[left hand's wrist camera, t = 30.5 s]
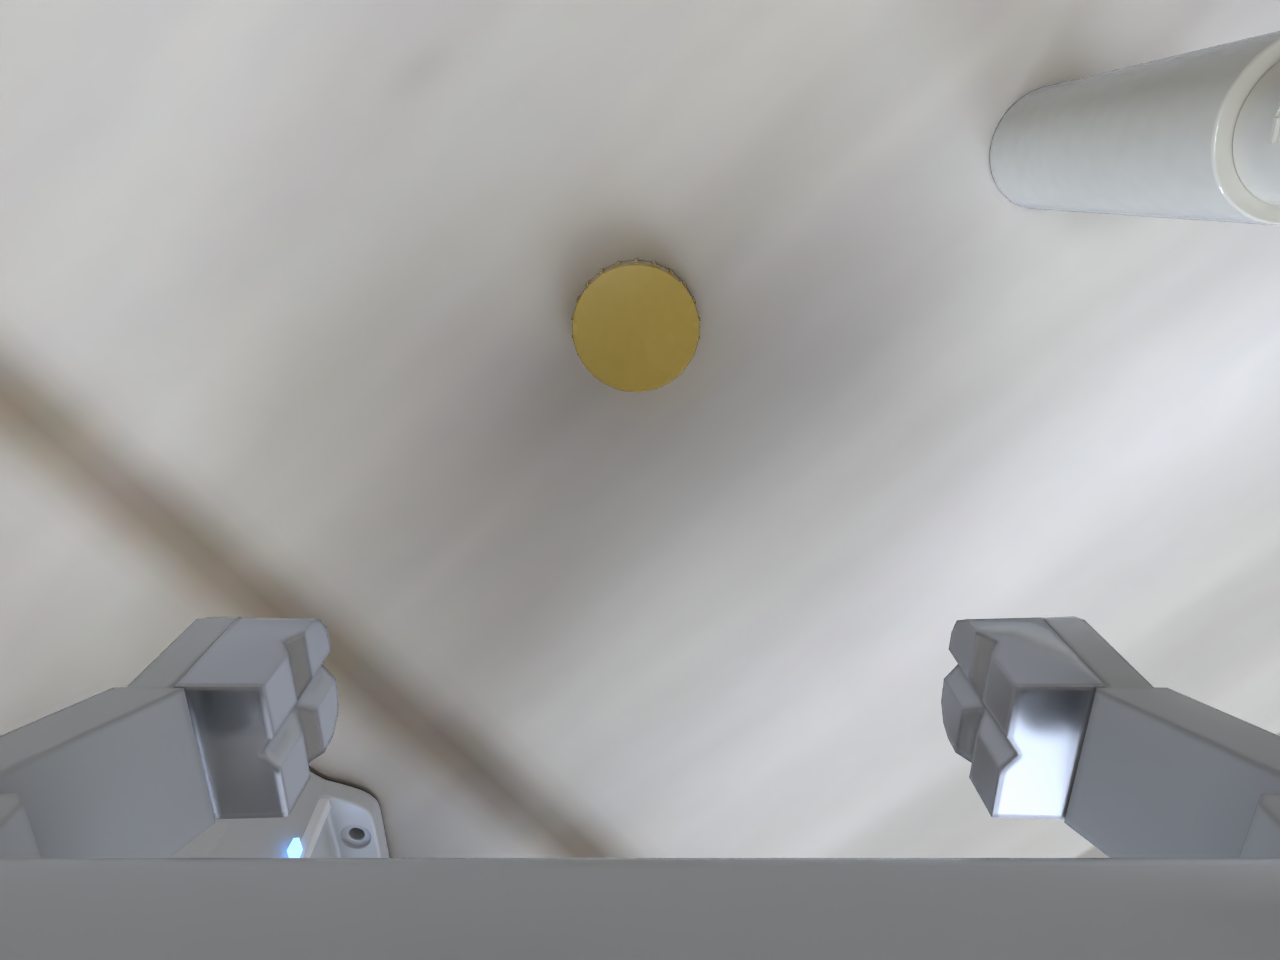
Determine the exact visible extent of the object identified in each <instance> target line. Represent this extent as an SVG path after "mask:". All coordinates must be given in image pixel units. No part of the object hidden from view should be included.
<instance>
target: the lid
mask: <svg viewBox="0 0 1280 960" xmlns="http://www.w3.org/2000/svg"><path fill="white" fill-rule="evenodd" d="M686 287H687V286H686V284H685V282H684V281H683V282H682V281H681V280H680V279H679V278H678V277H677V276H676V275H675V274H673V272H672V270H671V269H669V270H668V269H666V268H664V267H662V266H660V265H658V264H656V262H655V261H653V263H651V262H647V261H638V259H635V260H633V261H625V262H621V263H620V261H617V264H614V265H612V266H610V267H608V268H606V269H603V268H602V269H601V271H600V273H599V274H597V275H596V276H595V277H594V278H593V279H592V280H591V281H590V280H589V281H588V282H587V284H586V288H585V290H584V291H583V293H582V295H581V296H580V295H579V297H578V299H577V301H576V302H578V303H577V306H576V308H575V312H574V314H573V316H572V320H573V324H572V329H573V335H572V338H573V340H574V344H575V348H576V350H577V354H578V355H579V357H580V359H581V361H582V363H583V364H584V365H585V367H586V368H587V369H588V370H589V372H590V373H591V374H592V375H593V376H595V377H596V378H597V379H598V380H600V381H601V382H603V383H605V384H606V385H608V386H611V387H613V388H616V389H619V390H623V391H629V392H642V391H649V390H653V389H656V388H659V387H662V386H664V385H665V384H667V383H669V382H671V381H672V380H673V379H675V378H676V377H677V376H678V375H679V374H681V373H682V371H683V370H684V369H685V368H686V367H687V365H688V364H689V362H690V361H691V359H692V357H693V356H694V353H695V350H696V347H697V344H698V339H699V338H700V336H699V321H700V317H699V315H698V313H697V309H696V307H695V304H694V303H696V301H695V299H694V297H693V296H692V297H691V295H690V293H689V291H688V289H687V288H686Z"/></svg>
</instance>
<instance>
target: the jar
mask: <svg viewBox="0 0 1280 960" xmlns="http://www.w3.org/2000/svg"><path fill="white" fill-rule="evenodd" d="M990 165H991V171H992V175H993V178H994V181H995V183H996V185H997V186H998V188H999V190H1000V191H1001V192H1002V193H1003V195H1004V196H1005V197H1007V198H1008V199H1009V200H1010V201H1012V202H1013V203H1015V204H1017V205H1019V206H1021V207H1025V208H1029V209H1039V210H1054V211H1068V212H1083V213H1098V214H1113V215H1128V216H1143V217H1158V218H1172V219H1187V220H1202V221H1217V222H1232V223H1247V224H1262V225H1280V31H1277V32H1273V33H1268V34H1264V35H1260V36H1256V37H1252V38H1247V39H1243V40H1239V41H1235V42H1230V43H1226V44H1222V45H1218V46H1214V47H1209V48H1205V49H1201V50H1197V51H1192V52H1188V53H1184V54H1180V55H1176V56H1171V57H1167V58H1163V59H1159V60H1154V61H1150V62H1146V63H1142V64H1138V65H1133V66H1129V67H1125V68H1121V69H1117V70H1112V71H1108V72H1104V73H1100V74H1095V75H1091V76H1087V77H1083V78H1079V79H1074V80H1070V81H1066V82H1062V83H1057V84H1053V85H1049V86H1045V87H1042V88H1038V89H1036V90H1034V91H1032V92H1030V93H1028V94H1026V95H1025V96H1023V97H1022V98H1021V99H1019V100H1018V101H1017V102H1016V103H1015V104H1014V105H1013V106H1012V107H1011V108H1010V109H1009V110H1008V111H1007V112H1006V114H1005V115H1004V116H1003V118H1002V120H1001V121H1000V123H999V125H998V127H997V129H996V131H995V134H994V137H993V140H992V144H991V151H990Z"/></svg>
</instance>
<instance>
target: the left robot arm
mask: <svg viewBox="0 0 1280 960" xmlns="http://www.w3.org/2000/svg"><path fill="white" fill-rule="evenodd" d="M330 650H331V645H330V640H329V635H328V630H327V626H326V625H325V624H324V623H323V622H322V621H321V619H301V618H249V617H245V618H241V617H207V618H200V619H196V620H195V621H194V622H193V623H192V624H191V625H190V626H189V627H188V628H187V629H186V630H185V631H184V632H183V633H182V634H181V635H180V636H179V637H178V638H177V639H176V640H175V641H174V642H172V643H171V644H170V645H169V646H168V647H167V648H166V649H165V650H164V651H163V652H162V653H161V654H160V655H159V656H158V657H157V658H156V659H155V660H154V661H153V662H152V663H151V664H150V665H149V666H148V667H147V668H146V669H145V670H144V671H143V672H142V673H141V674H140V675H139V676H137V677H136V678H135V679H134V680H133V681H132V682H131V683H130V684H129V685H128V686H127V687H126V688H111V689H109V690H107V691H104V692H102V693H100V694H97V695H95V696H93V697H90V698H88V699H86V700H83V701H81V702H79V703H76V704H74V705H72V706H69V707H67V708H65V709H62V710H60V711H58V712H55V713H53V714H51V715H48V716H46V717H44V718H41V719H39V720H37V721H34V722H32V723H30V724H27V725H25V726H23V727H20V728H18V729H16V730H13V731H11V732H9V733H6V734H4V735H2V736H0V960H1280V736H1278V735H1276V734H1273V733H1271V732H1269V731H1266V730H1264V729H1262V728H1259V727H1257V726H1255V725H1252V724H1250V723H1248V722H1245V721H1243V720H1241V719H1239V718H1236V717H1234V716H1232V715H1229V714H1227V713H1225V712H1222V711H1220V710H1218V709H1215V708H1213V707H1211V706H1208V705H1206V704H1204V703H1201V702H1199V701H1197V700H1194V699H1192V698H1190V697H1187V696H1185V695H1183V694H1180V693H1178V692H1176V691H1173V690H1171V689H1169V688H1154V687H1153V686H1152V685H1151V684H1150V683H1149V682H1148V681H1147V680H1146V679H1145V678H1144V677H1143V676H1142V675H1141V674H1140V673H1138V672H1137V671H1136V670H1135V669H1134V668H1133V667H1132V666H1131V665H1130V664H1129V663H1128V662H1127V661H1126V660H1125V659H1124V658H1123V657H1122V656H1121V655H1120V654H1119V653H1118V652H1117V651H1116V650H1115V649H1114V648H1113V647H1112V646H1111V645H1110V644H1109V643H1108V642H1107V641H1106V640H1105V639H1104V638H1103V637H1102V636H1100V635H1099V634H1098V633H1097V632H1096V631H1095V630H1094V629H1093V628H1092V627H1091V626H1090V625H1089V624H1088V623H1087V622H1086V621H1085V620H1083V619H1080V618H1077V617H1049V618H1005V619H966V620H957V621H956V624H955V626H954V628H953V630H952V633H951V639H950V644H949V650H950V652H951V653H952V655H953V657H954V658H955V660H956V661H957V663H958V665H957V666H956V667H955V668H954V669H953V670H952V671H951V672H950V673H949V674H948V675H947V676H946V677H945V678H944V683H943V691H942V700H941V704H942V714H943V723H944V727H945V730H946V733H947V736H948V739H949V741H950V743H951V745H952V747H953V748H954V750H955V752H956V753H957V754H959V755H961V756H962V757H964V758H965V759H967V760H968V761H970V762H971V763H972V765H971V771H970V777H969V778H970V779H971V781H972V783H973V785H974V786H975V788H976V790H977V792H978V794H979V795H980V797H981V799H982V801H983V802H984V804H985V806H986V808H987V809H988V811H989V813H990V815H991V817H999V818H1036V819H1065V821H1064V823H1066V824H1067V825H1068V826H1070V827H1071V828H1072V829H1073V830H1075V831H1076V832H1077V833H1079V834H1080V835H1081V836H1083V837H1084V838H1085V839H1086V840H1088V841H1089V842H1090V843H1092V844H1093V845H1094V846H1096V847H1097V848H1098V849H1099V850H1101V851H1102V852H1103V853H1105V854H1106V855H1107V856H1108V857H1110V858H390V856H389V851H388V846H387V840H386V835H385V830H384V825H383V819H382V814H381V809H380V806H379V803H378V802H377V800H376V799H375V798H374V797H373V796H372V795H370V794H368V793H367V792H365V791H362V790H360V789H357V788H354V787H351V786H347V785H344V784H340V783H336V782H332V781H329V780H325V779H323V778H321V777H319V776H317V775H316V774H314V773H312V772H310V771H309V765H308V763H309V762H310V761H312V760H313V759H315V758H316V757H318V756H319V755H321V754H323V753H324V752H325V750H326V748H327V746H328V745H329V743H330V741H331V739H332V737H333V734H334V729H335V725H336V721H337V717H338V689H337V682H336V678H335V677H334V676H333V675H332V674H331V673H330V672H329V671H328V670H327V669H326V668H325V667H324V666H323V665H322V663H323V661H324V660H325V658H326V657H327V655H328V653H329V652H330ZM357 828H359V829H361V830H359V829H357Z"/></svg>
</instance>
